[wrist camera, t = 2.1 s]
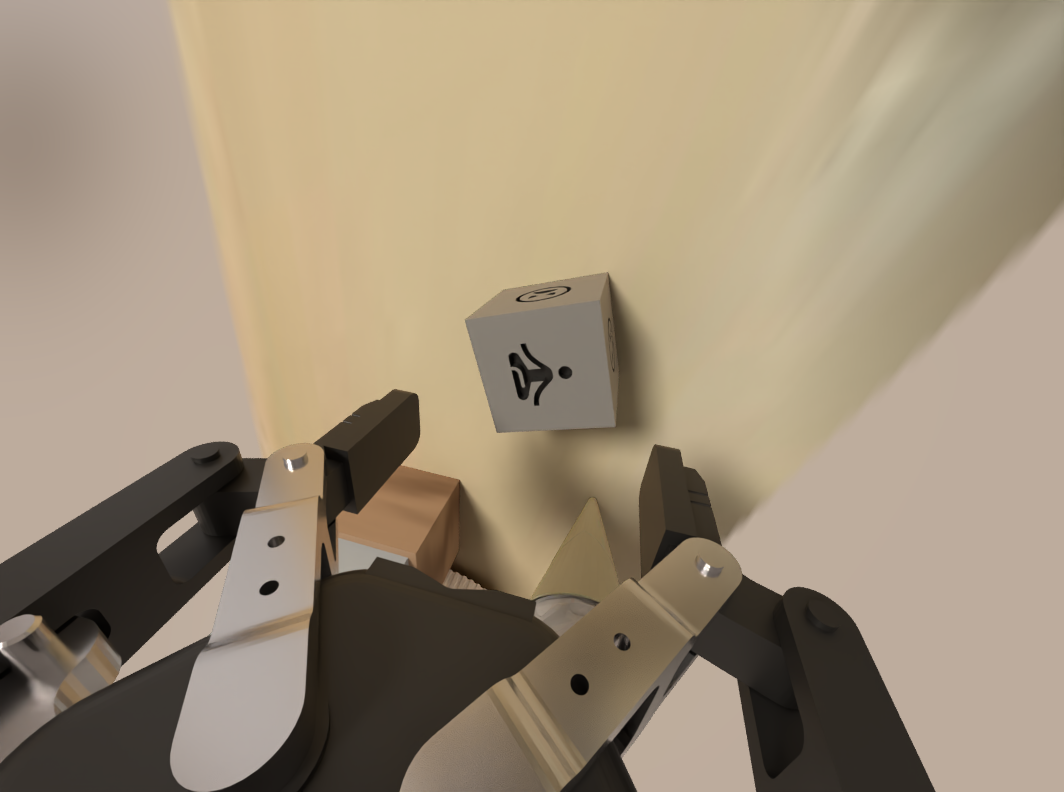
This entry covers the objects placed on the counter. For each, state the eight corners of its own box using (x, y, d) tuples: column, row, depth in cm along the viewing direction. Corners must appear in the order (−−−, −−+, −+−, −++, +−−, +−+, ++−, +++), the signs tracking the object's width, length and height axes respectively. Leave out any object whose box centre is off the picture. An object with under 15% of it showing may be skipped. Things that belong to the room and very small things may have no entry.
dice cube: (503, 289, 18) (464, 320, 14) (607, 272, 17) (599, 300, 13) (525, 381, 21) (496, 432, 16) (619, 373, 19) (615, 427, 15)
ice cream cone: (646, 481, 22) (668, 906, 9) (621, 539, 24) (609, 934, 11) (561, 457, 22) (464, 823, 9) (545, 516, 25) (451, 867, 12)
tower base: (364, 455, 26) (299, 520, 21) (460, 479, 25) (415, 553, 20) (375, 525, 30) (321, 596, 25) (459, 549, 29) (421, 627, 23)
